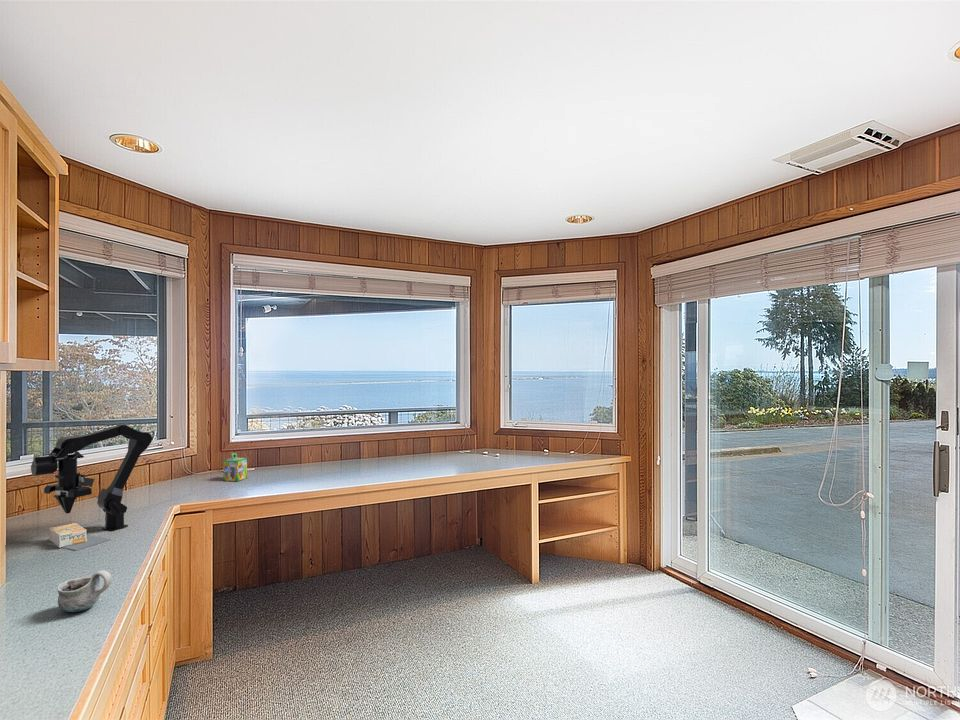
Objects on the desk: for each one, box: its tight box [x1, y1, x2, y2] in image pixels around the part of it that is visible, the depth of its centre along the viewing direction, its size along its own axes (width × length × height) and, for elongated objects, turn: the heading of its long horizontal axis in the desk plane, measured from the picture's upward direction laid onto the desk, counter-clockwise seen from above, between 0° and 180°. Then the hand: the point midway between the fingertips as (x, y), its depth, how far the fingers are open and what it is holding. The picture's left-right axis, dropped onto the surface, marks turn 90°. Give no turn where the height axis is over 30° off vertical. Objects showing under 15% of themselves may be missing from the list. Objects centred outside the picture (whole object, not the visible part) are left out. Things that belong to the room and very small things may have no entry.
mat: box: [48, 534, 112, 551], centre depth 198 cm, size 16×12×1 cm
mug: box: [56, 569, 112, 613], centre depth 145 cm, size 10×12×10 cm
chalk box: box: [222, 452, 248, 482], centre depth 299 cm, size 9×9×15 cm
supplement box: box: [49, 522, 87, 548], centre depth 198 cm, size 8×5×13 cm
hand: (67, 513), depth 202 cm, fingers closed
